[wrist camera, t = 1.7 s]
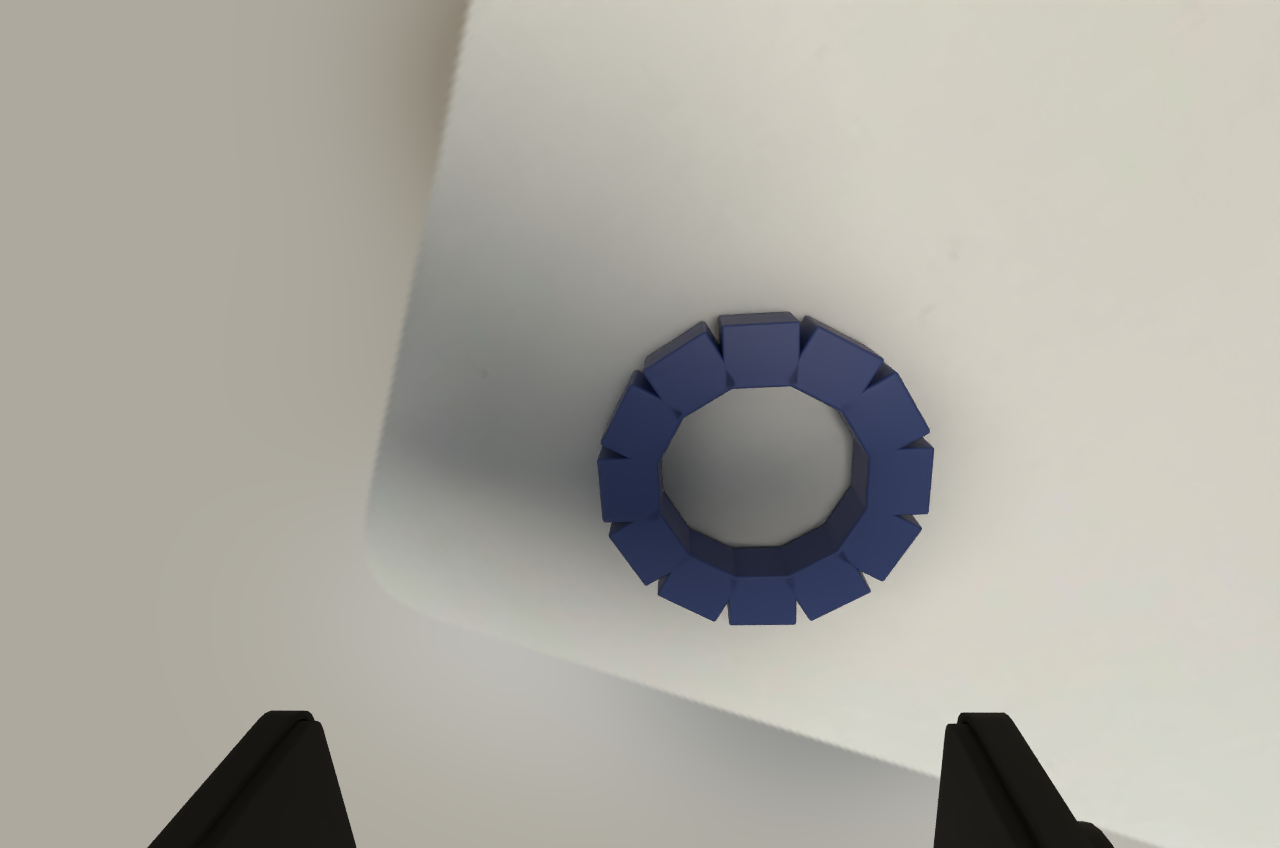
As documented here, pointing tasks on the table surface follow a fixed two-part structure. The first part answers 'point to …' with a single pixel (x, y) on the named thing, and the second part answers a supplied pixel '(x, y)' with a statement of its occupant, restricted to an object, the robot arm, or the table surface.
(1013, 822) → the robot arm
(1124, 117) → the table surface
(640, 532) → the blue segmented bracelet
